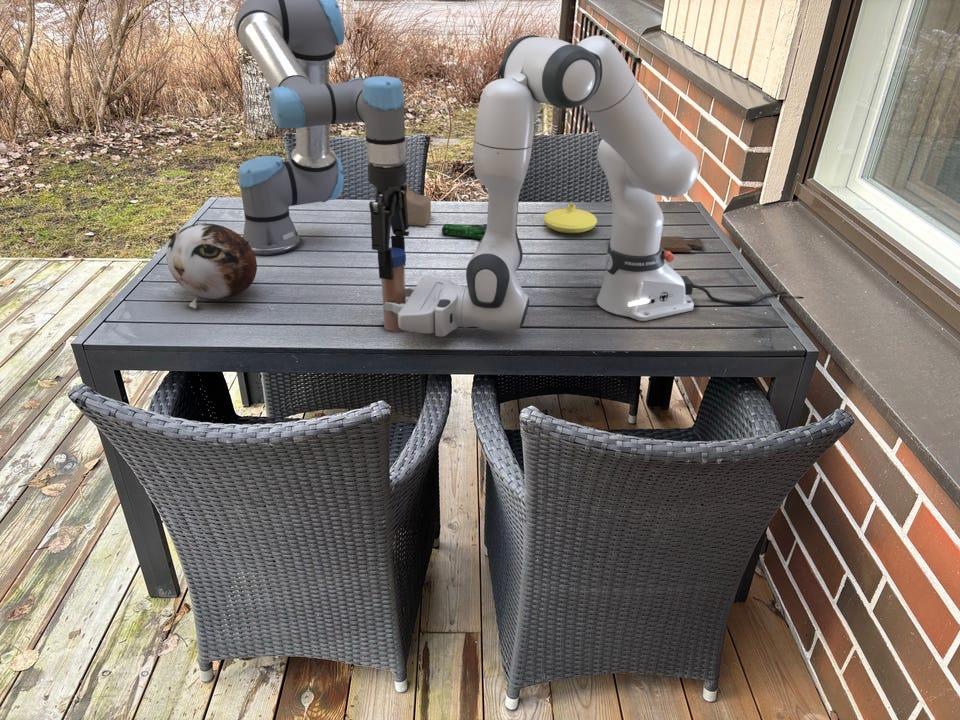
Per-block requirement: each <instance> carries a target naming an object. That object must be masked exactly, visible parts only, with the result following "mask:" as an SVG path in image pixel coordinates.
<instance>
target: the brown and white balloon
mask: <svg viewBox="0 0 960 720" xmlns="http://www.w3.org/2000/svg"><path fill="white" fill-rule="evenodd" d="M176 233H177V234H176V235H174V237H173V238H172V239H170V241H169V243H168V245H167V248H166V254H165V260H166V265H167V268H168V271H169V273H170V275H171V276H172V277H173V279H174V280H175V281H176V282H177V284H178V285H180V286H181V287H182V288H183V289H185V290H186V291H187V292H189V293H191V294H194V295H195V298H194V299H193V300H192V302H190V303H189V304H188V306H189V307H191V308H192V309H197V308H198V307H197V298H198V297H201V298H205V299H210V300H226V299H230V298H233V297H236V296H238V295H241V294H242V293H244V292H245V291H247V290H248V289H249V288H250V286H251V285H252V284H253V282H254V280H255V278H256V275H257V271H258V262H257V257H256V254H254V252H253V250H252V248H251V247H250V245H249V244H248V242H249V241H246V240H245V239H244V238H243V236H242V235H240V234H239V233H238V232H236V231H234V230H233V229H231V228H229V227H226V226H223V225H220V224H215V223H205V222H204V223H195V224H191V225H188V226H186V227H183V228H182V229H180V230H179V231H177V232H176Z"/></svg>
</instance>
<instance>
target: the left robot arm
mask: <svg viewBox="0 0 960 720" xmlns="http://www.w3.org/2000/svg"><path fill="white" fill-rule="evenodd" d="M344 24H345V23H344V19H343V15H342V11H341V9H340V6H339V3H338V1H337V0H245V1H244V2H243V3H242V5H241V6H240V8H239V9H238V12H237V13H236V17H235V21H234V30H235V35H236V38H237V41H238V42H239V44H240V46H241V47H242V49H243V50H244V51H245V52H246V53H247V54H249V55H250V56H252V58H253V59H254V61H255V63H256V65H257V67H258V68H259V70H260V72H261V73H262V75H263V77H264V79H265V81H266V82H267V84H268V86H269V87H270V91H269V99H268V100H269V107H270V113H271V116H272V119H273V122H274V124H275V125H276V126H277V127H278V128H279V129H295V139H296V140H295V143H296V147H294V148H293V149H292V151H291V154H290V159H291V160H285V161H284V160H283V158H282V157H281V156H279V155H263V156H258V157H255V158H251V159H248V160H246V161H245V162H243V163H241V165H240V166H239V167H238V170H237V174H238V186H239V189H240V194H241V195H240V196H241V201H242V207H243V212H244V213H243V215H244V219H245V220H244V226H243V228H244V229H243V235H242V237H243V238H244V239H245V240H246V241H249V242H248V244H249V245H250V247H251V248H252V250H253V252H254V254H255V256H256V255H257V256H275V255H281V254H282V255H283V254H285V253H289V252H291V251H293V250H296V249H297V248H298V247H299V246H300V244H301V241H300V235H299V233H298V231H297V229H296V227H295V225H294V223H293V220H292V218H291V216H290V207H292V206H293V207H294V206H300V205H306V204H308V205H309V204H314V203H326V202H328V201H333V200H334V201H335V200H337V199H338V198H339V197H340V196H341V195H342V192H343V190H344V184H345V180H344V179H345V175H344V167H343V164H342V160H341V159H340V158H339V157H338V156H337V154H336V153H335V151H334V150H333V149H332V148H331V125H341V124H352V123H364V132H365V142H366V143H365V145H364V148H365V149H366V156H367V157H366V159H367V162H368V165H367V177H368V183H370V185H372V186H374V188H375V187H376V192H375V200H374V201H371V200H370V201H369V203H368V207H369V212H370V233H371V235H370V239H371V250H372V251H377V263H378V278H379V279H381V278H382V279H389V280H392V279H393V273H392V254H391V249H389V248H390V245H391V247H395V248H401V249H403V250H404V251H405V252H406V243H405V237H409V236H410V232H409V231H408V230H409V226H410V225H408V212H407V199H406V191H407V185H408V184H407V185H406V184H404V183H405V182H407V181H408V175H407V174H408V173H407V170H408V169H407V164H406V163H405V162H406V161H407V142H406V141H407V140H406V124H405V123H406V121H405V102H406V99H405V96H404V95H405V94H404V86H403V82H402V81H401V79H400V78H398V77H393V76H387V75H378V76H377V75H376V76H370V77H366V78H363V77H354V78H351V79H349V80H348V81H345V82H344V81H343V82H342V81H341V82H333V83H332V82H331V83H330V62H331V61H332V60H333V59H334V58H335V57H336V53H337V51H336V49H337V47H339V46H341V45H343V44H344V41H345V38H346V37H345V34H346V33H345V26H344ZM336 46H337V47H336ZM384 211H388V212H384ZM391 232H392V235H391ZM177 233H178V232H174V233H172V234H171V235H169V236H168V238H167V239H168V240H171V239H172V238H173V237H174V235H176V234H177ZM390 242H391V243H390ZM405 267H406V263H405V264H404V268H405Z"/></svg>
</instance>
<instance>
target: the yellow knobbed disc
mask: <svg viewBox="0 0 960 720" xmlns="http://www.w3.org/2000/svg"><path fill="white" fill-rule="evenodd" d="M543 222H544V225H545V226H546V227H548V228H550V229H551V230H554V231H556V232H559V233H564V234H580V233H584V232H585V233H586V232H587V231H591V230H592V229H594V228H596V226H597V223H598V219H597V217H596V215H595V214H593V213H591V212H589V211H587V210H584V209H578V208H576V205H575V204H571V203H570V204H567V208H557V209H552V210H549V211H548V212H547V213H545V214H544V216H543Z"/></svg>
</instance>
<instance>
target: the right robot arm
mask: <svg viewBox="0 0 960 720" xmlns="http://www.w3.org/2000/svg"><path fill="white" fill-rule="evenodd" d="M496 76H497V77H496V78H497V79H494V80H493V81H490V82H489V83H487V84H486V85H485V86H484V88H483V90H482V92H481V95H480V99H479V103H478V106H477V107H478V108H477V111H476V116H475V117H476V118H475V123H474V131H473V132H474V133H473V140H472V141H473V142H472V162H473V171H474V176H475V177H476V179H477V180H478V181H479V183H481V184H482V185H483V186H484V187H485V188H486V190H487V197H488V199H487V218H486V224H487V229H486V232H485V234H484V236H483V237H482V239H481V240H479V243H478V244H477V247H476V249H475V251H474V252H473V254H472V256H471V258H470V259H469V261H468V262H467V266H466V270H465V279H466V285H460V284H458V283H455V282H453V281H452V280H451V279H448V278H443V277H437V276H430V275H427V276H422V277H421V278H420V280H419V281H418V283H417V285H416V286H407V287H405V292H406V298H407V299H406V303H405V304H400V305H399V304H396V303H395V302H394V301H390V300H388V301H387V302H386V303H385V310H386V311H393V312H394V313H396V314H398V326H399V328H401V329H402V330H401V331H405V332H410V333H416V334H425V335H427V334H428V335H429V334H434V335H435V336H437V337H445V336H447V335H448V334H449V333H451V332H453V331H455V330H456V329H458V328H466V329H467V328H478V329H481V330H483V331H491V332H492V331H493V332H513V331H518V330H520V329H521V328H522V327H523V325H524V323H525V321H526V317H527V314H528V311H529V307H530V297H529V295H528V294H527V293H526V292H525V291H524V289H523V287H522V285H521V284H520V281H519V278H518V276H517V271H518V269H519V268H520V266H521V265H522V262H523V256H524V255H523V248H522V244H521V241H520V238H519V236H518V232H517V231H518V229H517V226H518V216H519V215H518V214H519V202H520V193H521V189H522V187H523V184H524V183H525V179H526V177H527V173H528V169H529V166H530V161H531V156H532V150H533V140H534V127H535V126H534V124H535V121H536V118H537V115H538V114H539V111H540V110H541V108H542V107H543V104H547V105H550V106H553V107H556V108H558V109H574V108H579V107H580V106H582V107H583V108H582V109H583V110H584V111H585V113H586V115H587V116H588V118H589V120H590V122H591V124H592V125H593V127H594V129H595V130H596V132H597V133H598V135H599V137H600V139H601V140H600V142H599V144H598V147H597V162H598V164H599V166H600V168H601V169H602V171H603V173H604V175H605V178H606V181H607V185H608V189H609V194H610V200H611V206H612V207H611V208H612V219H611V230H610V237H611V240H610V239H609V243H608V244H607V249H606V256H605V273H604V277H603V281H602V285H601V286H600V290H599V292H598V295H597V297H596V304H597V305H598V306H599V307H600V308H601V309H603V310H605V311H606V312H608V313H611V314H614V315H617V316H618V315H619V316H621V317H629V318H631V319H634V320H637V321H639V322H646V321H650V320H655V319H659V318H665V317H669V316H673V315H679V314H682V313H683V314H684V313H687V312H692V311H693V310H694V305H695V303H694V300H693V299H692V297H691V295H693V289H698V290H700V291H702V292H704V293H705V294H706V296H707V297H708V299H710V300H712V301H715V302H717V303H723V304H727V305H750V304H755V303H757V302H759V301H761V300H763V299H764V298H767V297H773V296H774V297H775V296H780V295H788V294H787V293H786V292H785V291H786V290H780V291H776V292H775V291H774V292H767V293H764V294H761V295H760V296H759V297H757V298H754V299H751V300H724V299H721V298H717V297H715V296H713V295H712V294H711V293H710V291H709V290H708V289H707V288H705V287H703V286H701V285H698V284H695V283H694V282H693V281H692V280H691V279H690V278H689V277H688V276H687V275H680V274H679V273H678V272H677V271H676V270H674V269H673V268H672V267H671V266H670V265H669V264H667V263H672V262H673V261H674V260H675V254H673V253H672V251H666V250H665V249H664V248H662V247H660V241H661V236H663V235H662V234H663V228H664V221H665V219H664V213H663V210H662V208H661V207H660V205H659V203H658V201H657V199H656V196H660V197H665V198H666V197H667V198H679V197H681V196H684V195H686V194H687V193H688V192H689V191H690V189H691V188H693V186H694V184H695V182H696V181H697V178H698V174H699V160H698V158H697V156H696V155H695V153H693V152H692V151H691V150H690V149H689V148H687V147H686V146H685V145H684V144H683V143H681V142H680V140H679V139H677V137H676V136H675V135H674V134H673V133H672V131H671V130H670V129H669V128H668V126H667V125H666V124H665V123H664V122H663V120H662V119H661V118H660V117H659V116H658V115H657V113H656V112H655V111H654V110H653V108H652V107H651V105H650V104H649V102H648V100H647V99H646V97H645V95H644V92H643V90H642V89H641V86H640V85H639V83H638V80H637V79H636V77H635V75H634V73H633V71H632V69H631V67H630V66H629V64H628V63H627V61H626V59H625V57H624V56H623V54H622V53H621V52H620V51H619V49H618V48H617V47H616V46H615V44H614V43H613V42H612V41H611V40H610V39H609V38H607V37H605V36H603V35H592V36H587V37H586V38H584V39H582V40H580V41H579V42H578V43H576V44H573V43H570V42H568V41H565V40H562V39H560V38H556V37H546V36H540V35H535V34H530V35H529V34H528V35H523V36H520V37H516V39H514V40H513V41H512V42H510V44H509V45H508V46H507V48H506V49H505V52H504V54H503V56H502V59H501V62H500V67H499V69H498V71H497V75H496ZM665 261H666V262H667V263H666V262H665Z"/></svg>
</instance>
